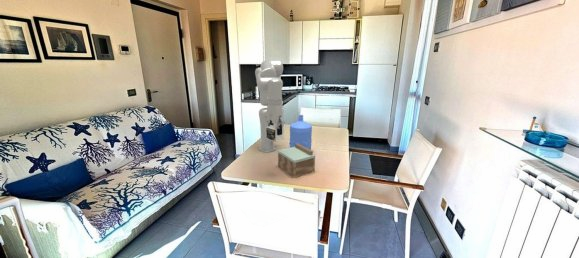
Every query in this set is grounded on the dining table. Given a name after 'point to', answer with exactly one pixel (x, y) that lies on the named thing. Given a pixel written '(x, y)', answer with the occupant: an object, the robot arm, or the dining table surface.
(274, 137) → the medicine bottle
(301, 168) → the wooden box
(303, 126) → the water jug
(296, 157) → the lid
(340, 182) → the dining table surface
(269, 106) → the robot arm
